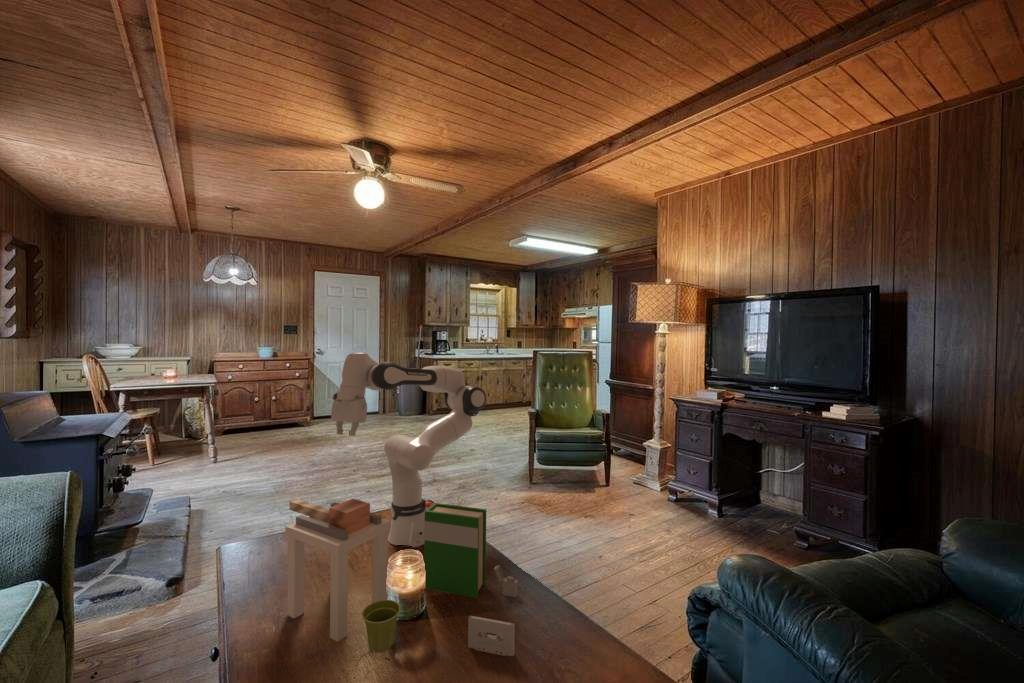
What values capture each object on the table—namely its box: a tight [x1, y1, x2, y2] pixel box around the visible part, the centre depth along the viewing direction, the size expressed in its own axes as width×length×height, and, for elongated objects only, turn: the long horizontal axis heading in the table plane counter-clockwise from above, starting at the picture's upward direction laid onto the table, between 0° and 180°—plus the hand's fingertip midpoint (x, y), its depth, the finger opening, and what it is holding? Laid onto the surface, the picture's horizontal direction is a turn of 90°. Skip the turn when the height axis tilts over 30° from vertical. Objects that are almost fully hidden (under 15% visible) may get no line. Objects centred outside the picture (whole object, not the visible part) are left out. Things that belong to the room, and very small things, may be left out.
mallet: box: [288, 498, 371, 535], centre depth 129 cm, size 29×8×6 cm, turn 60°
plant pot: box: [361, 599, 402, 653], centre depth 112 cm, size 9×9×9 cm
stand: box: [284, 502, 392, 642], centre depth 125 cm, size 22×18×27 cm
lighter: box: [493, 565, 518, 598], centre depth 135 cm, size 7×2×8 cm, turn 73°
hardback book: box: [423, 502, 487, 599], centre depth 139 cm, size 18×7×24 cm, turn 74°
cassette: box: [467, 615, 516, 657], centre depth 110 cm, size 12×2×8 cm, turn 75°
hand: (345, 435), depth 157 cm, fingers open, 8 cm apart
